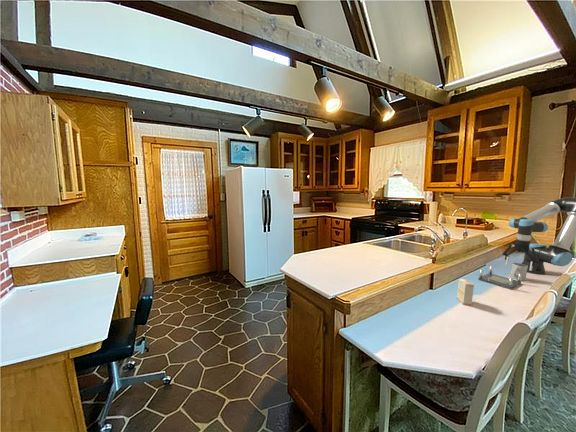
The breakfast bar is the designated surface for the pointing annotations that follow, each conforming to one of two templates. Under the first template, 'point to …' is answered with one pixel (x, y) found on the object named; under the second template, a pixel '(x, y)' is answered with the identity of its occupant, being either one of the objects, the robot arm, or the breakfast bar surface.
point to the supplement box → (465, 291)
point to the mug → (519, 271)
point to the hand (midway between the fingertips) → (518, 267)
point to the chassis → (499, 279)
